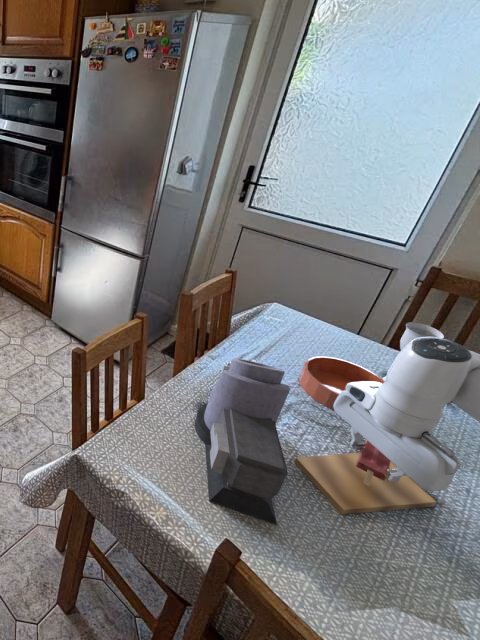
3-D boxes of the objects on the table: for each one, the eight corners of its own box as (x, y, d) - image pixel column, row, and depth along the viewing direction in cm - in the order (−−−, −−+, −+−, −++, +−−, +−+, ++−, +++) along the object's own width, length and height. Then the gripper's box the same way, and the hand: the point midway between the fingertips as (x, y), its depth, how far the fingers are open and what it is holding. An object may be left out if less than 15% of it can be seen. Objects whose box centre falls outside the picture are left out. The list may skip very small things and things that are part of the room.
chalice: (419, 394, 111) (452, 339, 103) (390, 391, 112) (420, 337, 104) (397, 375, 117) (427, 323, 109) (370, 373, 118) (398, 321, 110)
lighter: (220, 377, 117) (227, 355, 114) (220, 373, 119) (228, 351, 115) (249, 386, 114) (258, 363, 110) (249, 382, 115) (258, 360, 112)
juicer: (193, 399, 110) (215, 323, 99) (264, 418, 104) (296, 340, 93) (197, 497, 85) (228, 410, 75) (290, 530, 79) (337, 440, 69)
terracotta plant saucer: (341, 368, 120) (348, 354, 118) (404, 416, 104) (413, 401, 102) (283, 371, 119) (288, 358, 117) (337, 420, 103) (345, 406, 101)
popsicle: (353, 474, 82) (367, 435, 91) (349, 480, 83) (364, 440, 92) (383, 490, 79) (395, 448, 88) (379, 496, 80) (391, 453, 89)
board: (376, 455, 94) (379, 450, 93) (433, 506, 83) (437, 502, 82) (293, 461, 93) (295, 457, 92) (340, 514, 82) (343, 509, 81)
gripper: (481, 459, 70) (442, 510, 76) (367, 376, 88) (343, 422, 94) (447, 461, 70) (410, 513, 76) (340, 377, 88) (317, 424, 94)
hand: (372, 462), depth 85 cm, fingers closed on popsicle, 6 cm apart
